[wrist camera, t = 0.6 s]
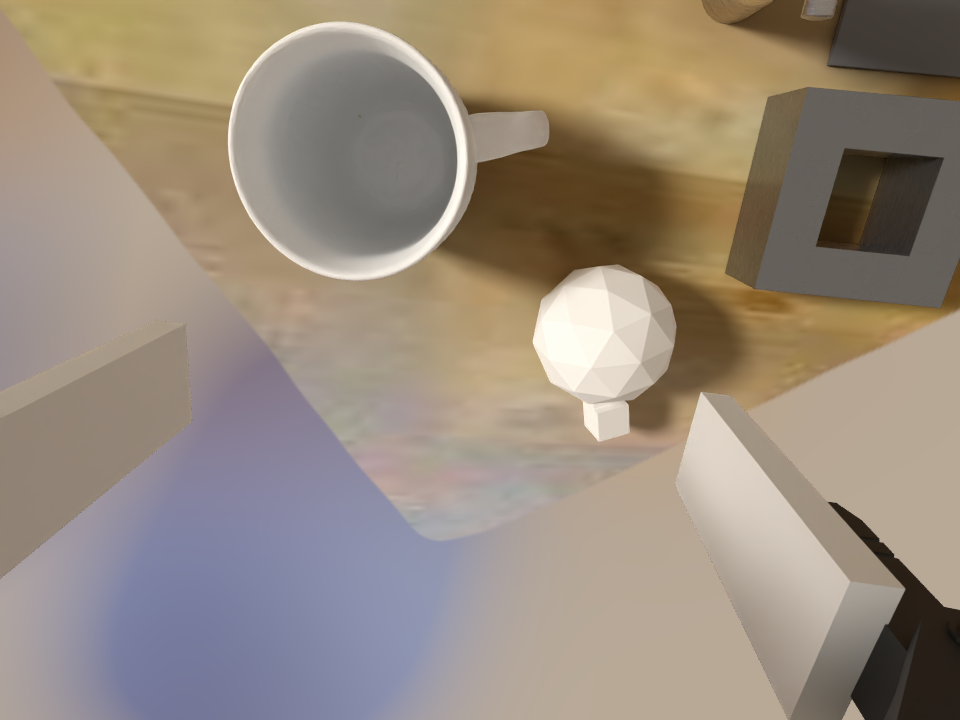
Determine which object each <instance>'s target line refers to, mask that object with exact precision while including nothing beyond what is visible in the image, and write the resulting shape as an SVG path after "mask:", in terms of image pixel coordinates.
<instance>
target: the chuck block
mask: <svg viewBox="0 0 960 720" xmlns="http://www.w3.org/2000/svg"><path fill="white" fill-rule="evenodd" d="M843 154H849V155H860V156H870V157H880V158H887V160H886V163H885V166H884V169H883V172H882V175H881V178H880V181H879V185H878V188H877V191H876V194H875V197H874V200H873V203H872V206H871V209H870V213H869V216H868V219H867V222H866V225H865V228H864V231H863V234H862V237H861V241H860V244H852V243H842V242H832V241H822V240H818V237H819V233H820V230H821V226H822V223H823V220H824V216H825V213H826V209H827V206H828V203H829V199H830V196H831V192H832V189H833V186H834V182H835V179H836V176H837V172H838V169H839V165H840V162H841V159H842V155H843ZM959 258H960V101H951V100H941V99H930V98H919V97H909V96H898V95H888V94H877V93H866V92H856V91H845V90H834V89H824V88H813V87H806V88H802V89H798V90H794V91H790V92H787V93H783V94H779V95H775V96H771V97H768V100H767V104H766V108H765V112H764V116H763V120H762V124H761V128H760V132H759V137H758V141H757V145H756V149H755V153H754V157H753V161H752V165H751V169H750V173H749V178H748V182H747V186H746V190H745V194H744V198H743V202H742V206H741V210H740V214H739V218H738V223H737V227H736V231H735V235H734V239H733V243H732V247H731V251H730V255H729V259H728V264H727V268H726V272H725V273H726V274H728V275H729V276H731V277H733V278H735V279H737V280H739V281H741V282H743V283H744V284H746V285H748V286H750V287H752V288H754V289H760V290H770V291H780V292H789V293H799V294H809V295H819V296H828V297H838V298H848V299H857V300H867V301H877V302H887V303H896V304H906V305H916V306H925V307H935V308H941V305H942V303H943V300H944V297H945V295H946V292H947V290H948V287H949V284H950V282H951V279H952V277H953V274H954V271H955V269H956V266H957V264H958V261H959Z"/></svg>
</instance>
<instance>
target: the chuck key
mask: <svg viewBox="0 0 960 720" xmlns="http://www.w3.org/2000/svg"><path fill="white" fill-rule="evenodd" d="M773 1H774V0H702V2H703V6H704V8H705V10H706V12H707V13H708V15H709V16H710V17H711V18H712V19H714V20H715V21H717V22H720V23H724V24H732V23H736V22H739V21H742V20H743V19H745V18H747V17H748V16H750V15H752V14H753V13H755V12H757V11H758V10H760V9H761V8H763V7H765V6H766V5H768V4H769V3H771V2H773ZM837 3H838V0H805V1H804V5H803V9H802V13H801V19H804V20H810V21H821V20H828V19H831V18H833V17H834V14H835V10H836V6H837Z"/></svg>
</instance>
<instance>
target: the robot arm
mask: <svg viewBox="0 0 960 720" xmlns="http://www.w3.org/2000/svg"><path fill="white" fill-rule="evenodd" d="M191 421H192V408H191V393H190V379H189V364H188V350H187V336H186V324H183V323H175V322H167V321H160V320H155V321H153V322H151V323H148V324H146V325H144V326H142V327H140V328H138V329H135V330H133V331H131V332H129V333H127V334H124V335H122V336H120V337H118V338H116V339H113V340H111V341H109V342H107V343H105V344H103V345H100V346H98V347H96V348H94V349H92V350H90V351H87V352H85V353H83V354H81V355H79V356H76V357H74V358H72V359H70V360H68V361H66V362H64V363H61V364H59V365H57V366H55V367H52V368H50V369H48V370H46V371H44V372H42V373H40V374H37V375H35V376H33V377H31V378H29V379H26V380H24V381H22V382H20V383H18V384H15V385H13V386H11V387H9V388H7V389H5V390H2V391H0V578H2V577H3V576H4V575H5V574H7V573H8V572H9V571H10V570H12V569H13V568H14V567H15V566H16V565H18V564H19V563H20V562H21V561H23V560H24V559H25V558H26V557H27V556H29V555H30V554H31V553H32V552H34V551H35V550H36V549H37V548H38V547H40V546H41V545H42V544H43V543H44V542H46V541H47V540H48V539H49V538H51V536H53V535H54V534H55V533H57V532H58V531H59V530H60V529H62V528H63V527H64V526H65V525H66V524H68V523H69V522H70V521H71V520H72V519H74V518H75V517H76V516H77V515H78V514H80V513H81V512H82V511H83V510H85V508H87V507H88V506H89V505H91V504H92V503H93V502H94V501H96V500H97V499H98V498H99V497H100V496H102V495H103V494H104V493H105V492H106V491H108V490H109V489H110V488H111V487H112V486H114V485H115V484H116V483H117V482H119V481H120V480H121V479H122V478H123V477H124V476H126V475H127V474H128V473H130V472H131V471H132V470H133V469H134V468H136V467H137V466H138V465H139V464H140V463H142V462H143V461H144V460H145V459H146V458H148V457H149V456H150V455H151V454H153V453H154V452H155V451H156V450H157V449H159V448H160V447H161V446H162V445H164V444H165V443H166V442H167V441H168V440H170V439H171V438H172V437H173V436H175V435H176V434H177V433H178V432H179V431H181V430H182V429H183V428H184V427H185V426H187V425H188V424H189V423H190V422H191ZM675 487H676V489H677V491H678V493H679V495H680V497H681V499H682V501H683V503H684V505H685V508H686V510H687V512H688V514H689V516H690V518H691V520H692V522H693V524H694V526H695V528H696V530H697V532H698V534H699V536H700V538H701V541H702V542H703V545H704V547H705V549H706V551H707V553H708V555H709V557H710V559H711V561H712V563H713V565H714V567H715V569H716V572H717V574H718V575H719V578H720V580H721V582H722V584H723V586H724V588H725V590H726V592H727V594H728V596H729V599H730V601H731V603H732V605H733V607H734V609H735V611H736V613H737V615H738V617H739V619H740V621H741V623H742V625H743V628H744V629H745V632H746V634H747V636H748V638H749V640H750V642H751V644H752V646H753V648H754V650H755V652H756V654H757V656H758V659H759V661H760V663H761V665H762V666H763V669H764V671H765V673H766V675H767V677H768V679H769V681H770V683H771V685H772V688H773V689H774V692H775V694H776V696H777V698H778V700H779V702H780V704H781V706H782V708H783V710H784V712H785V714H786V716H787V719H788V720H842V718H843V716H844V714H845V712H846V710H847V708H848V706H849V704H850V702H851V700H853V701H854V703H855V704H856V706H857V708H858V709H859V711H860V713H861V714H862V716H863V717H864V719H865V720H960V610H957V609H952V608H947V607H944V606H943V605H942V604H941V603H940V602H939V601H938V600H937V599H936V598H935V597H934V596H933V595H932V594H931V593H930V592H929V591H928V590H927V588H925V586H924V585H923V584H922V583H921V582H920V581H919V580H918V579H917V578H916V577H915V576H914V575H913V574H912V573H911V572H910V571H909V570H908V569H907V567H906V566H905V565H904V564H903V563H902V562H901V561H900V560H899V559H897V558H894V554H893V553H892V552H891V551H890V550H889V548H888V547H887V546H886V545H885V544H884V543H881V542H879V538H878V537H877V536H876V535H875V534H874V533H873V532H872V531H871V529H870V528H869V527H868V526H867V525H866V524H865V523H864V522H863V521H862V520H860V519H859V518H858V517H856V516H855V515H853V514H852V513H850V512H849V511H847V510H846V509H844V508H843V507H841V506H840V505H838V504H837V503H833V502H827V501H826V500H825V499H824V498H823V497H822V496H821V495H820V493H819V492H818V491H817V490H816V489H815V488H814V487H813V486H812V484H811V483H810V482H809V481H808V480H807V479H806V478H805V477H804V476H803V474H802V473H801V472H800V471H799V470H798V469H797V468H796V467H795V466H794V464H793V463H792V462H791V461H790V460H789V459H788V458H787V457H786V456H785V455H784V453H783V452H782V451H781V450H780V449H779V448H778V447H777V446H776V445H775V443H774V442H773V441H772V440H771V439H770V438H769V437H768V436H767V434H766V433H765V432H764V431H763V430H762V429H761V428H760V427H759V426H758V424H757V423H756V422H755V421H754V420H753V419H752V418H751V417H750V416H749V414H748V413H747V412H746V411H745V410H744V409H743V408H742V407H741V406H740V404H739V403H738V402H737V401H736V400H735V399H734V398H733V397H732V396H731V395H723V394H715V393H708V392H701V394H700V397H699V401H698V404H697V408H696V411H695V415H694V418H693V422H692V426H691V429H690V433H689V436H688V440H687V443H686V447H685V451H684V454H683V458H682V461H681V465H680V468H679V472H678V476H677V479H676V483H675Z"/></svg>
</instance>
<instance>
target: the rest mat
mask: <svg viewBox="0 0 960 720" xmlns="http://www.w3.org/2000/svg"><path fill="white" fill-rule="evenodd" d="M827 66H836V67H847V68H858V69H869V70H879V71H890V72H901V73H912V74H922V75H933V76H944V77H955V78H960V0H845V1H844V5H843V8H842V12H841V16H840V19H839V23H838V27H837V30H836V34H835V38H834V41H833V45H832V49H831V53H830V56H829V60H828V64H827Z"/></svg>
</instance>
